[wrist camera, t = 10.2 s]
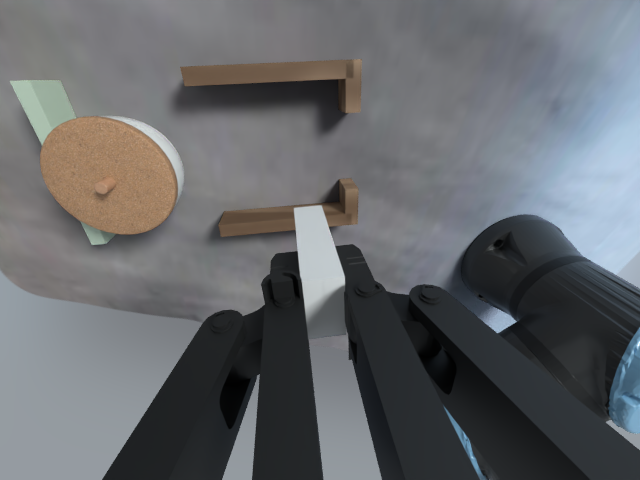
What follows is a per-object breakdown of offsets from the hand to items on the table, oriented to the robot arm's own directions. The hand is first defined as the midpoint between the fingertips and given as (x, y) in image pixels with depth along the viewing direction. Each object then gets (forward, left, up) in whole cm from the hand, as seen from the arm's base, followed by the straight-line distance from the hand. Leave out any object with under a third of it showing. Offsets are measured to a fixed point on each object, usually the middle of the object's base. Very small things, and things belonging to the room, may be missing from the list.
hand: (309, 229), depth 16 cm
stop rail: (0, +23, -21) cm, 31 cm away
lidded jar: (0, +17, -21) cm, 27 cm away
